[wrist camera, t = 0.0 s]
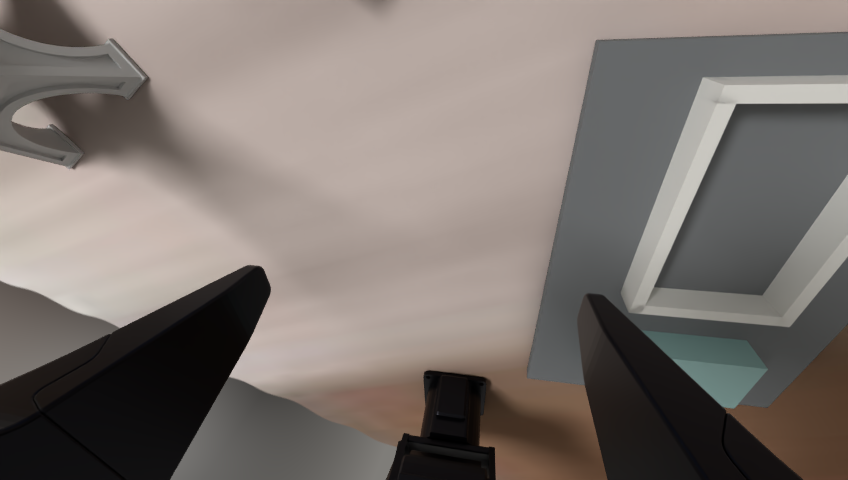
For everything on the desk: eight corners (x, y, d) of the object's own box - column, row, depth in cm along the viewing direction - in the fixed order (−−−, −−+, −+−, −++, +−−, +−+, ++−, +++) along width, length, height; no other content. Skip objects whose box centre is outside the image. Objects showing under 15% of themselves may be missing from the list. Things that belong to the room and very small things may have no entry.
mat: (761, 399, 30) (767, 407, 29) (526, 370, 33) (527, 378, 33) (1106, 23, 14) (1135, 24, 14) (596, 40, 18) (599, 41, 17)
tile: (746, 340, 26) (768, 369, 24) (717, 379, 29) (734, 408, 27) (604, 326, 27) (613, 352, 25) (590, 365, 30) (597, 391, 28)
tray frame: (769, 305, 24) (789, 327, 22) (620, 292, 25) (628, 312, 24) (940, 73, 15) (992, 82, 14) (702, 77, 17) (724, 85, 15)
